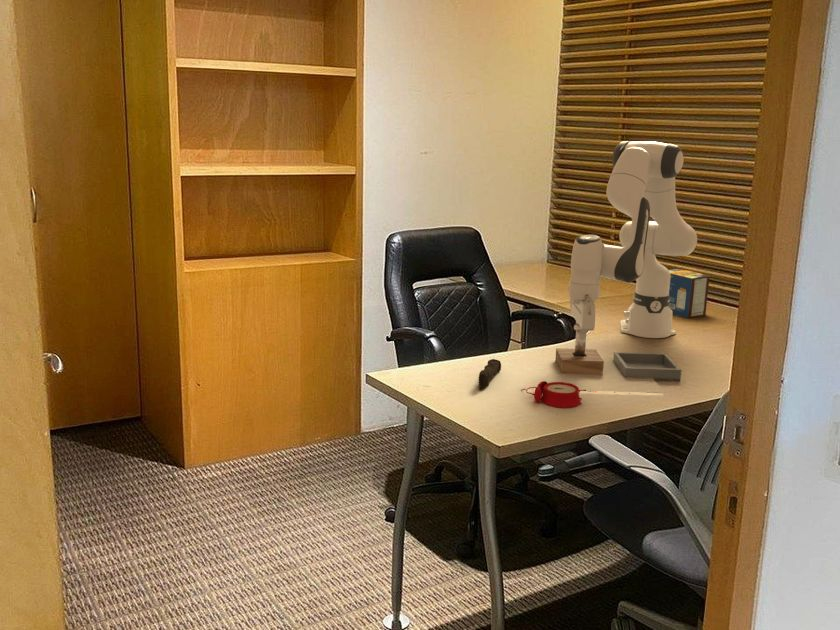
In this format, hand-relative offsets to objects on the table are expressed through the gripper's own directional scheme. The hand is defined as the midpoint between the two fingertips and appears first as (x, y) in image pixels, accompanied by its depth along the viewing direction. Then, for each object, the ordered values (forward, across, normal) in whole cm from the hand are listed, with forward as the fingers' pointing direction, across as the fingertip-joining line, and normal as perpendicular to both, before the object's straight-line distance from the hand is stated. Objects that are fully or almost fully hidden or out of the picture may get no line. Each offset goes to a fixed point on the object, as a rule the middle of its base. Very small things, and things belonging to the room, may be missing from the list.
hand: (580, 337), depth 243 cm
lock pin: (+6, 0, 0) cm, 6 cm away
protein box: (+11, +77, -53) cm, 94 cm away
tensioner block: (+10, 0, 0) cm, 10 cm away
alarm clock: (+10, -27, +11) cm, 31 cm away
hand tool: (+10, -12, +27) cm, 32 cm away
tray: (+10, 0, -20) cm, 22 cm away
